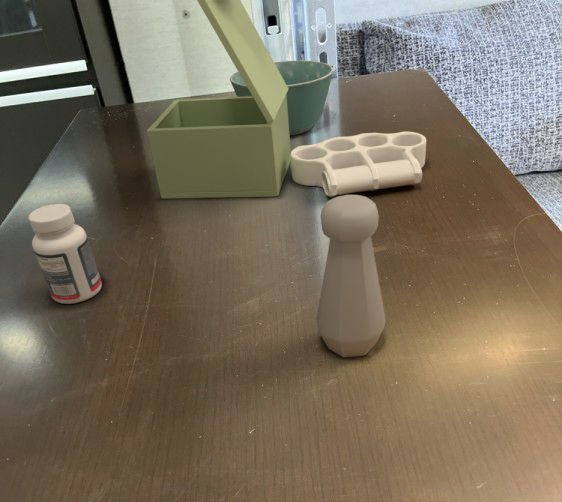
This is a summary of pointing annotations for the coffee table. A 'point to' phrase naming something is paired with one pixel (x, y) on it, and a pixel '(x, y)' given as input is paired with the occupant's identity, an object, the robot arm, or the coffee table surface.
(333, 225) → the salt shaker
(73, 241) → the pill bottle
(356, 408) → the coffee table surface
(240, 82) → the bowl
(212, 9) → the bin lid
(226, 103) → the bin
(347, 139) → the knuckle duster
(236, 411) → the coffee table surface
